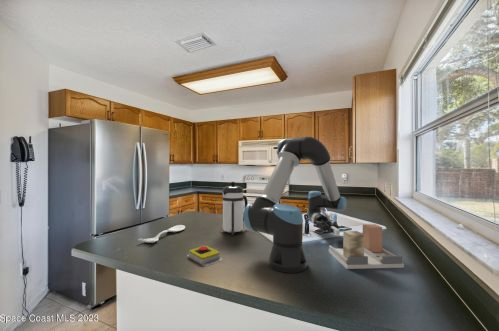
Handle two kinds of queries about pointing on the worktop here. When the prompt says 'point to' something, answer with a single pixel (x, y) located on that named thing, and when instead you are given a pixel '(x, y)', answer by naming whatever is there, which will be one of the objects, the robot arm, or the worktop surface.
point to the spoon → (172, 229)
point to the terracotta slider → (372, 237)
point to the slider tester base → (368, 259)
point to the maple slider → (353, 243)
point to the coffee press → (233, 208)
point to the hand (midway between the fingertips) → (338, 233)
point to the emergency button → (205, 255)
